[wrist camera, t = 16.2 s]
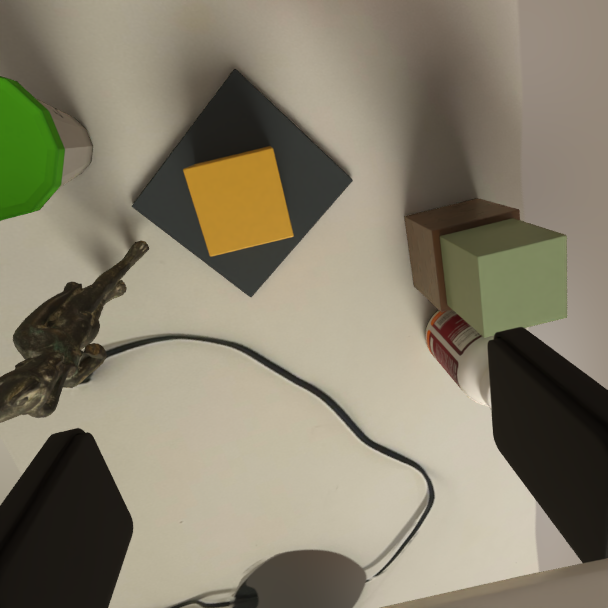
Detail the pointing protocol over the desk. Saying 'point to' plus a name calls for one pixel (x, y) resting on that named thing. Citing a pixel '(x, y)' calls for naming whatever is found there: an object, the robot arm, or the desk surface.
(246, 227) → the top block
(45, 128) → the cup
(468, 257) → the middle block
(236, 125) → the felt mat
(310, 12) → the desk surface
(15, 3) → the desk surface
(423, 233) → the bottom block
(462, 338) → the pill bottle
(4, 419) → the statue
